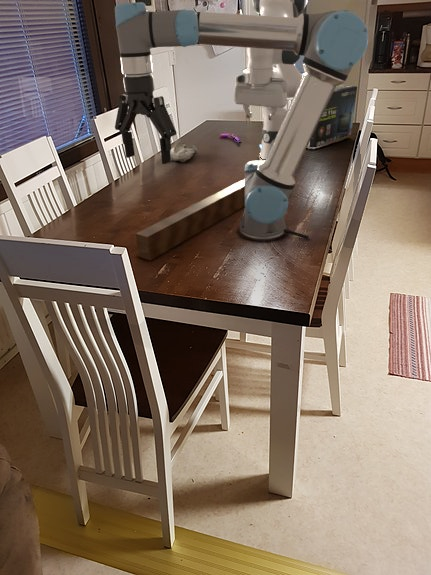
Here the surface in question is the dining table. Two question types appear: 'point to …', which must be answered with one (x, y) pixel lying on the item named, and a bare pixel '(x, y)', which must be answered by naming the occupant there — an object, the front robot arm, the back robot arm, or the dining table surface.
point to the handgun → (230, 137)
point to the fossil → (182, 152)
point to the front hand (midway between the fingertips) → (148, 159)
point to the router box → (336, 116)
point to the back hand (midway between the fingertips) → (259, 118)
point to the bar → (190, 221)
